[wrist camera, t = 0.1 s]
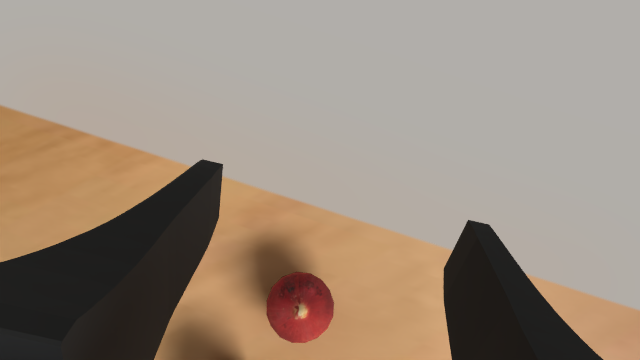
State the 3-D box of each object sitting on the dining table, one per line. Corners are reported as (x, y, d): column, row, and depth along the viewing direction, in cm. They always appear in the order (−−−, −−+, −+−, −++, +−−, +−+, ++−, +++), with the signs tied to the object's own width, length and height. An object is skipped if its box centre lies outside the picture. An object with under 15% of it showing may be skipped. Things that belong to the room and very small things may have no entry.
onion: (260, 285, 44) (253, 286, 36) (317, 264, 45) (322, 260, 37) (280, 346, 43) (277, 361, 35) (339, 324, 44) (348, 333, 36)
